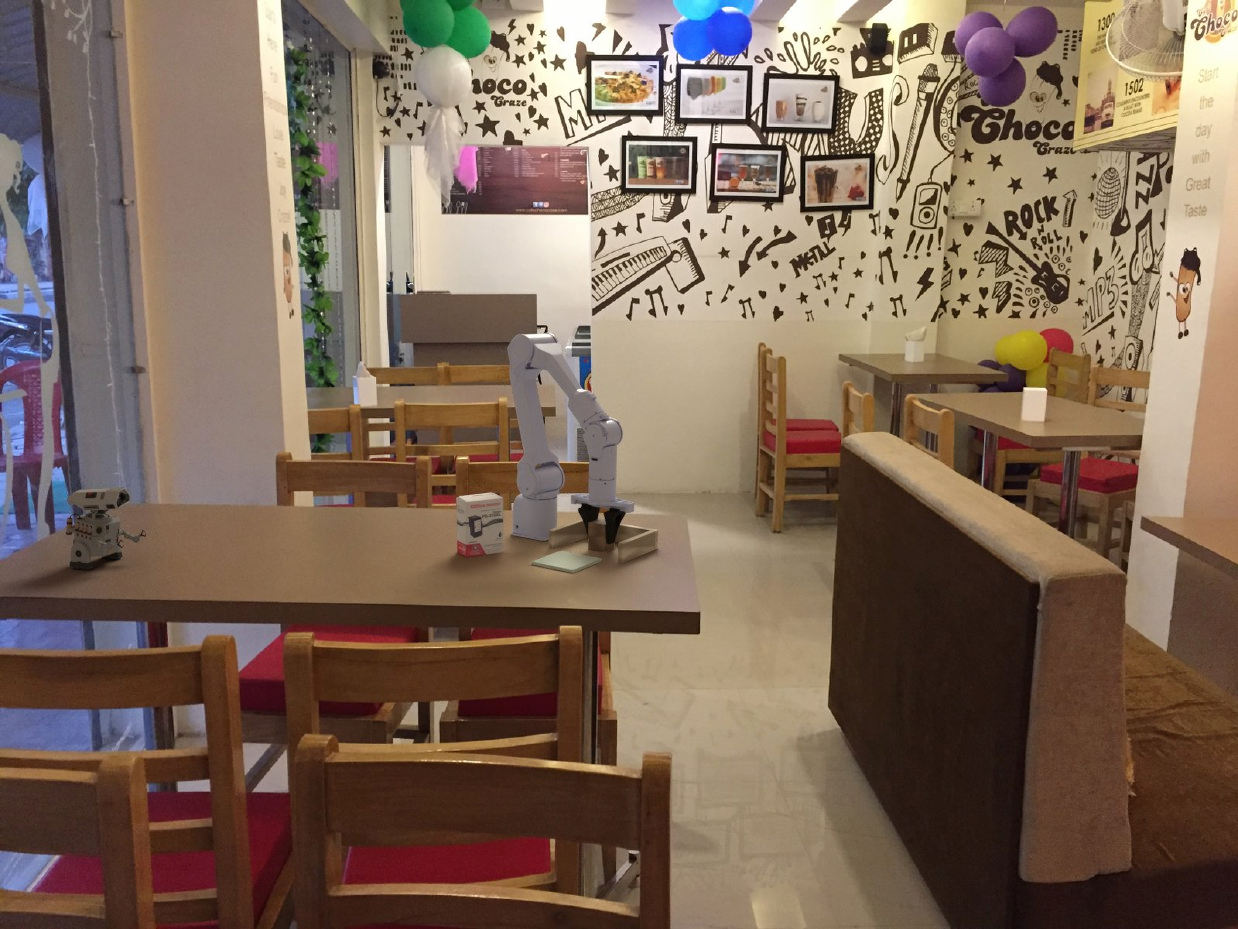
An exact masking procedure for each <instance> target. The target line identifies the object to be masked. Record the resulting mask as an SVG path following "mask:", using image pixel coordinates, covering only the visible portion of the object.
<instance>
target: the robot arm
mask: <svg viewBox="0 0 1238 929" xmlns="http://www.w3.org/2000/svg"><path fill="white" fill-rule="evenodd" d="M563 349H564V348H563V345H561V343H560V342H559V340H558V338H557V336H556V335H554V334H553V333H551V332H543V333H529V334H523V333H518V334H516V335H515V336H514V337H513V338H512V339H511V341H510V342H509V344H508V346H507V347H506V350H507V356H508V359H509V371H508V375H509V376H508V377H509V382H510V386H511V392H512V397H513V398H512V399H513V402H514V407H515V414H516V418H517V424H518V428H519V429H518V430H519V434H520V441H521V445H522V450H523V455H522V457H521V458H520V459H519V461H518V462H517V464H516V469H517V476H516V485H517V489H518V491H519V492H520V494H518V495H516V497H515V499H514V501H513V504H512V532H510V536H515V537H521V538H525V539H532V540H537V541H542V542H546V541H549V530H551V529H554V528H557V527H558V496H559V495H560V490H561V489H562V488H563V487H564V486H565V482H566V480H565V479H566V478H565V477H566V475H565V473H564V470H563V468H562V466H561V465H560V461H559V457H558V456H557V455H556V454H555V453H554V452H552V451H551V449H549V444H548V443H549V442H548V436H547V432H546V426H545V422H544V416H543V411H542V406H541V401H540V395H539V389H538V386H537V385H538V384H537V378H538V376H539V375H540V374H541V372H542V371H543V370H544V371H547V372H548V374H549V375H550V376H551V378H553V380H554V381H555V383H556V384H557V386H559V388H560V389H561V390H562V392H563V393H564V394H565V396H567V397H568V400H567V407H568V409H569V410H570V412H571V413H572V415H573V417H574V418H575V420H577V422H578V424H579V425H580V427H581V428H582V430H583V431H584V433H582V439H583V441H584V444H585V446H586V448H587V454H588V494H587V493H574V494H570V504H571V505H581V506H580V507H579V508H577V513H578V514H579V516H580V518H581V519H582V520H583V522H584V525H585V528H586V531H587V536H588V523H589V522H591V521H594V520H597V519H599V514H600V509H605V510H606V509H608V510H607V511H604V512H603V516H604V518H603V519H604V520H605V522H606V541H607V544H612V543H615V544H616V542H615V539H616V535H617V531H618V528H619V526H620V524H622V521H623V519H624V517H625V515H626V514H630V513H633V512H634V511H635V502H633V501H629V500H625V499H623V498H618V497H617V466H618V465H617V460H618V459H617V458H618V455H617V454H618V445H620V443H621V442H622V440H623V436H624V431H623V427H622V426H621V423H620V422H619V420H617V419H616V418H613V417H610V415H608V414H607V412H605V410H604V408H603V407H602V406H601V405H600V403H599V401H598V400H597V395H596V394H595V393H594V392H592V391H590V390H588V389H584V388H582V386H581V384H580V382H579V380H578V379H577V377H576V376H575V373H574V372H573V369H571V367H570V365H569V363H568V362H567V360H566V358H565V356H564V355H563V351H564V350H563ZM538 465H539V466H538Z"/></svg>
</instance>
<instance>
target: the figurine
mask: <svg viewBox="0 0 1238 929" xmlns="http://www.w3.org/2000/svg"><path fill="white" fill-rule="evenodd" d="M66 502H67V504H68V506H75V505H76V506H77V507H78V508H79V509H81V510H82V511H89V512H88V513H87V512H86V513H84V514H80V515H79V514H77V513H72V514H71V515H70V516H68V517H67V518H66V528H65V529H66V530H65V535H67V536H72V535H74V536H73V541H72V546H71V550H70V561H69V567H70V568H72V569H73V570H75V569H76V570H79V569H81V570H82V571H84V570H85V571H88V570H91V569H93V568H94V567H95V566H94V563H93V561H92V557H94V558H95V557H96V558H97V557H98V558H99V557H100V558H102V559H103V560H104V559H106V560H108V559H109V560H110V559H111V560H112V561H114V560H116V561H119V560H121V559H122V558H123V552H122V550H121V549H123V547H124V546H125V544H123V545H121V544H120V543H121V542H122V543H124V541H123V540H122V539H120V536H122V535H123V538H124V539H125V540H130V541H132V542H133V543H135V544H137V543H139V542H140V539H141V537H145V538H146V537H147V533H146V531H145V530H144V529H142V530H141V532H140V533H139V534H138V535H134V534H131V532H129V531H126V530H125V528H123V527H121V519H120V517H119V516H117V515H112V514H111V513H108V511H110V510H119V509H121V508H122V507H125V506H126V505H128V504H129V503H131V494H130V492H129V491H127V489H126V488H125V487H115V488H114V487H110V488H108V487H107V488H89V489H77V490H76V491H74V492H72V493H70V495H69V496H68V497H67V498H66ZM74 515H75V522H73V521H74V518H73V517H72V516H74ZM73 523H74V525H73ZM73 533H74V534H73ZM143 533H144V534H143Z"/></svg>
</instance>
